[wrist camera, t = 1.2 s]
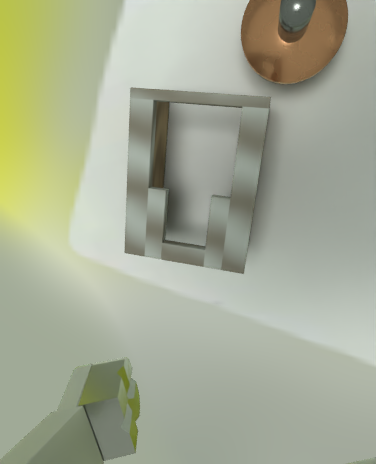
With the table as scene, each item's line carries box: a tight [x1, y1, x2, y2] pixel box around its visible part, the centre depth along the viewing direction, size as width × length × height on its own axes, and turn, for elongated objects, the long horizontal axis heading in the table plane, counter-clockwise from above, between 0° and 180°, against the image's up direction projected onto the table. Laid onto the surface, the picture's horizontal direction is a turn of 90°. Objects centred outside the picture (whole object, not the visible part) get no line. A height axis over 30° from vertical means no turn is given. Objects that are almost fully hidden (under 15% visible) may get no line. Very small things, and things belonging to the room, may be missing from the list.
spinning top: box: [241, 0, 348, 84], centre depth 31 cm, size 10×10×12 cm
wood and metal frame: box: [125, 88, 271, 274], centre depth 38 cm, size 18×14×10 cm
